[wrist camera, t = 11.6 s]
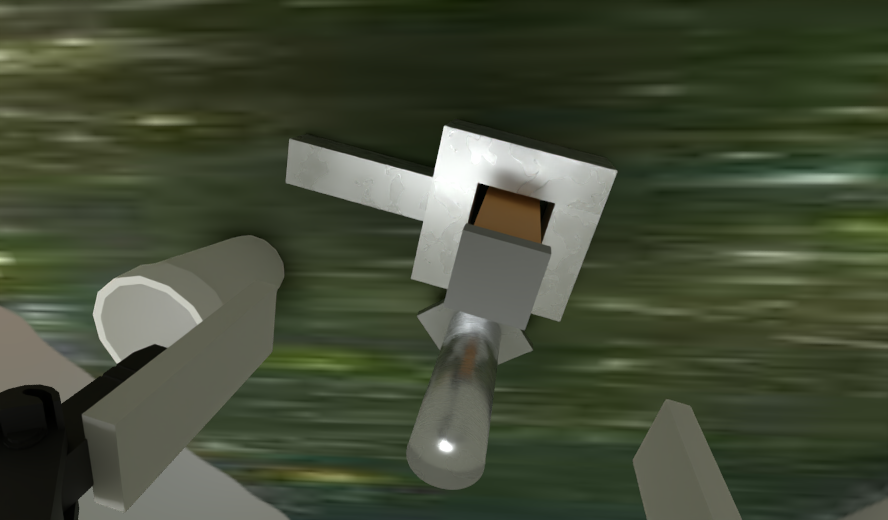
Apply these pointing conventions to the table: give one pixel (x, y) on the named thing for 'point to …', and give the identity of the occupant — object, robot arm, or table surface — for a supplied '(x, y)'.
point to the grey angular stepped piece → (444, 216)
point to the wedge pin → (500, 260)
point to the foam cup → (179, 293)
